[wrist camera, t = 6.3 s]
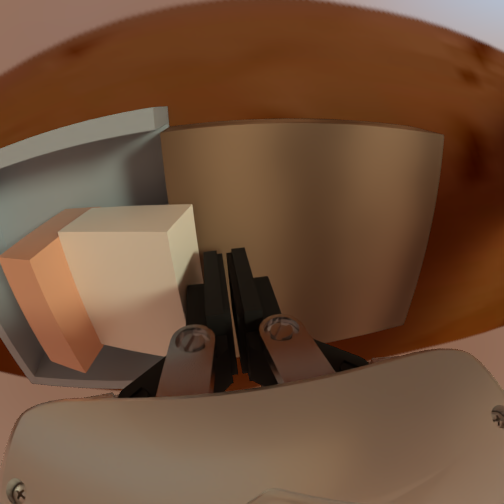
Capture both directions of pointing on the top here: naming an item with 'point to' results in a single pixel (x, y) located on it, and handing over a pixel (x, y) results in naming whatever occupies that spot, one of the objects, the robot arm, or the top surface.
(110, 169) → the tray
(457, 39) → the top surface
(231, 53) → the top surface
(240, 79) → the top surface
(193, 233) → the cream tile
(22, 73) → the top surface
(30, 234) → the terracotta tile
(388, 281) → the walnut board
